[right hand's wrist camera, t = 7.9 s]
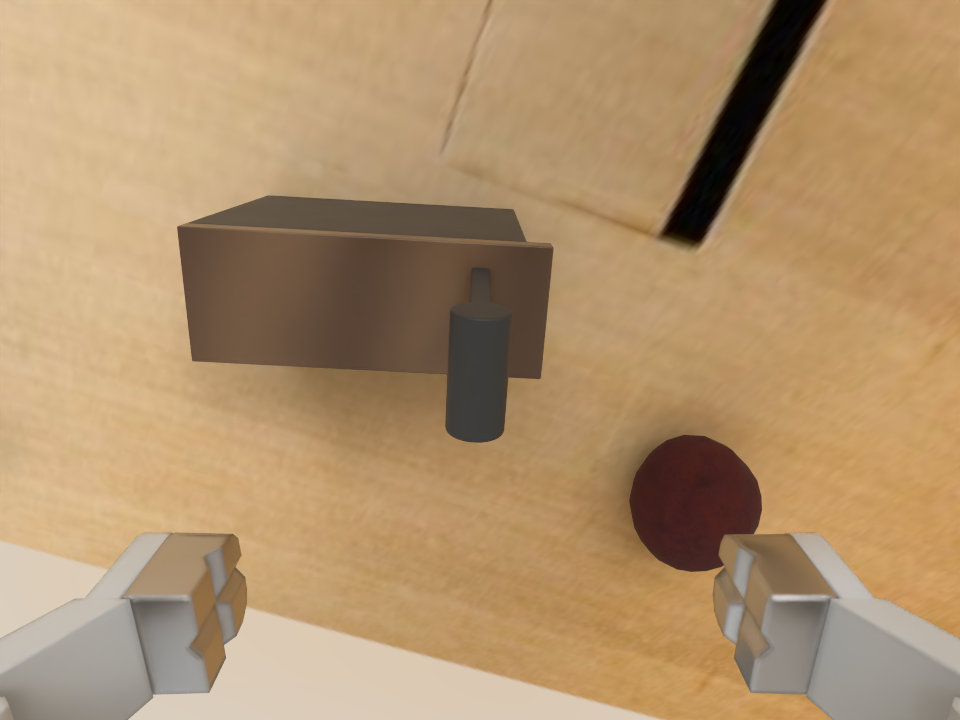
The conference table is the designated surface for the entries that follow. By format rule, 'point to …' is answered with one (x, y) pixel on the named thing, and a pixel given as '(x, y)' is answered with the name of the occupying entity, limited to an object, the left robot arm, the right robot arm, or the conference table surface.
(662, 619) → the conference table surface
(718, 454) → the potato
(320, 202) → the chest
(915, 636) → the right robot arm
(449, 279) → the lid
